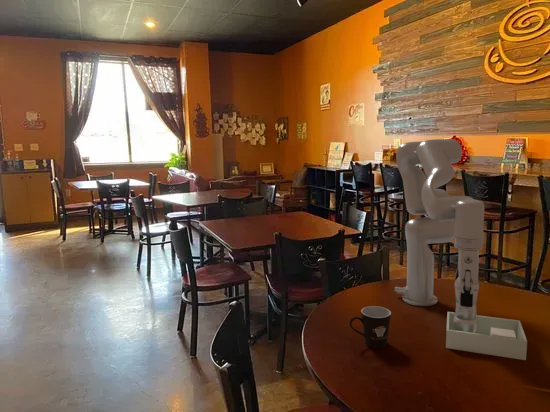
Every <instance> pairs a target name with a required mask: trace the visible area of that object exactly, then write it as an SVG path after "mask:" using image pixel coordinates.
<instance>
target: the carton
mask: <svg viewBox="0 0 550 412" xmlns="http://www.w3.org/2000/svg"><path fill="white" fill-rule="evenodd" d="M490 335H492V336H499V337H506V338H513V339H516V336H515V332H514V330H508V329H500V328H492V327H491V331H490Z"/></svg>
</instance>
